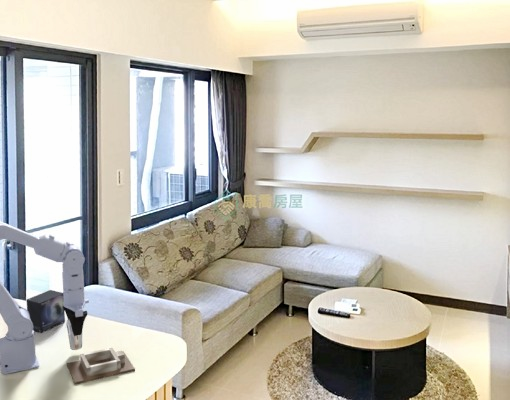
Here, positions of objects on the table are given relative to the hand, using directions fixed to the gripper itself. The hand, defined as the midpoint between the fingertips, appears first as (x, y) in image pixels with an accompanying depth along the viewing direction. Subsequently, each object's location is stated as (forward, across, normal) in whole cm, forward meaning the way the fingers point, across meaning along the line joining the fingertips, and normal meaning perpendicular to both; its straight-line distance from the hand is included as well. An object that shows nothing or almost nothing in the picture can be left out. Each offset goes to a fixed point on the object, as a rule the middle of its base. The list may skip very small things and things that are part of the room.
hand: (75, 331), depth 160 cm
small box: (+7, +25, +5) cm, 26 cm away
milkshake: (+5, 0, 0) cm, 5 cm away
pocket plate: (+7, -12, -4) cm, 14 cm away
